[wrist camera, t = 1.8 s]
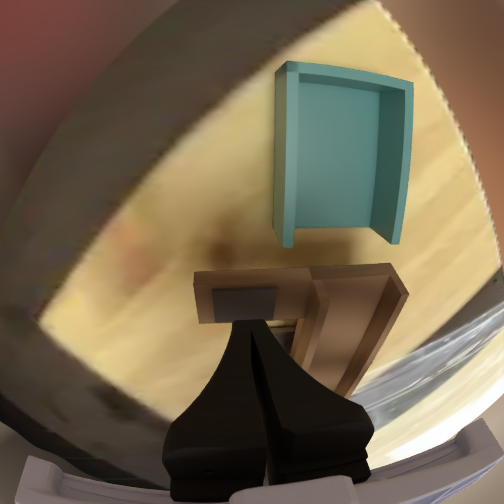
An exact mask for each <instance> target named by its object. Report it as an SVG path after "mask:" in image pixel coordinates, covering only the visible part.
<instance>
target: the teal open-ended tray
mask: <svg viewBox="0 0 504 504" xmlns="http://www.w3.org/2000/svg"><path fill="white" fill-rule="evenodd" d="M413 97H414V87H413V82H410V81H406V80H402V79H398V78H394V77H390V76H385V75H381V74H376V73H371V72H366V71H361V70H355V69H349V68H343V67H337V66H330V65H322V64H314V63H304V62H293V61H286V62H285V63H284V64H283V65H282V66H281V67H280V68H279V69H278V70H277V71H276V72H275V144H274V196H273V229H274V231H275V233H276V235H277V237H278V239H279V241H280V243H281V246H282V248H293V243H294V228H331V227H370V228H371V229H373V230H374V231H375V232H376V233H378V234H379V235H380V236H381V237H383V238H384V239H385V240H386V241H387V242H389V243H390V244H391V245H392V244H399V241H400V236H401V230H402V224H403V218H404V211H405V204H406V197H407V189H408V180H409V171H410V160H411V148H412V131H413Z"/></svg>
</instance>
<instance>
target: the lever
mask: <svg viewBox="0 0 504 504" xmlns="http://www.w3.org/2000/svg"><path fill="white" fill-rule="evenodd" d="M193 286H194V293H195V300H196V306H197V313H198V319H199V324H206V323H232V322H233V321H235V320H251V319H264V320H265V321H272V320H287V319H298V321H297V326H296V330H295V335H294V339H293V344H292V348H291V353H290V356H291V357H292V358H293V359H294V360H295V362H296V363H297V364H298V365H299V366H301V367H302V368H303V369H304V370H305V371H306V372H307V373H308V374H309V375H311V376H312V377H313V378H314V379H316V380H317V381H318V382H320V383H321V384H323V385H324V386H325V387H327V388H328V389H330V390H331V391H333V392H335V393H337V394H338V395H340V396H342V397H344V398H346V399H348V398H349V397H350V396H351V394H352V393H353V391H354V390H355V388H356V387H357V385H358V384H359V382H360V380H361V379H362V377H363V376H364V374H365V373H366V371H367V370H368V368H369V366H370V365H371V363H372V361H373V360H374V358H375V356H376V355H377V353H378V351H379V350H380V348H381V346H382V345H383V343H384V341H385V339H386V338H387V336H388V334H389V332H390V330H391V329H392V327H393V325H394V323H395V321H396V319H397V317H398V315H399V314H400V312H401V310H402V308H403V306H404V304H405V302H406V300H407V298H408V296H409V293H408V291H407V289H406V288H405V286H404V284H403V283H402V281H401V279H400V278H399V276H398V274H397V273H396V271H395V270H394V268H393V266H392V265H391V263H379V264H362V265H343V266H323V267H303V268H280V269H256V270H229V271H200V272H194V283H193Z"/></svg>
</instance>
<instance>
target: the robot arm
mask: <svg viewBox="0 0 504 504" xmlns="http://www.w3.org/2000/svg"><path fill="white" fill-rule="evenodd" d="M374 431H375V430H374V426H373V424H372V421H371V419H370V417H369V416H368V414H367V413H366V411H365V409H364V408H363V406H361V405H359V404H357V403H355V402H352V401H350V400H348V399H346V398H344V397H342V396H340V395H338V394H337V393H335V392H333V391H331V390H330V389H328V388H327V387H325V386H324V385H323V384H321V383H320V382H318V381H317V380H316V379H314V378H313V377H312V376H311V375H309V374H308V373H307V372H306V371H305V370H304V369H303V368H302V367H301V366H299V365H298V364H297V363H296V362H295V360H294V359H293V358H292V357H291V356H290V355H289V354H288V353H287V352H286V350H285V349H284V348H283V347H282V345H281V344H280V343H279V342H278V340H277V339H276V337H275V336H274V335H273V333H272V332H271V330H270V328H269V327H268V325H267V323H266V321H265V320H264V319H251V320H235V321H233V322H232V331H231V335H230V338H229V342H228V344H227V347H226V350H225V352H224V355H223V357H222V359H221V361H220V363H219V365H218V367H217V369H216V371H215V373H214V374H213V376H212V377H211V379H210V381H209V382H208V384H207V385H206V386H205V388H204V389H203V391H202V392H201V393H200V395H199V396H198V397H197V398H196V399H195V400H194V402H193V403H192V404H191V405H190V406H189V407H188V408H187V409H186V410H185V411H184V412H183V413H182V414H181V415H180V416H179V417H178V418H177V419H176V420H175V421H173V422H172V423H171V425H170V428H169V430H168V433H167V435H166V438H165V442H164V446H163V454H162V462H163V465H164V467H165V469H166V470H167V472H168V474H169V476H170V477H171V485H170V491H160V490H150V489H141V488H134V487H127V486H120V485H115V484H109V483H104V482H99V481H94V480H90V479H85V478H81V477H77V476H73V475H69V474H65V473H63V472H62V471H61V469H60V468H58V467H57V466H56V465H55V464H53V463H51V462H48V461H45V460H42V459H39V458H36V457H33V456H28V459H27V462H26V465H25V468H24V471H23V474H22V477H21V480H20V483H19V487H18V490H17V494H16V497H15V503H16V504H439V503H441V502H442V501H444V500H446V499H448V498H450V497H451V496H453V495H455V494H457V493H458V492H460V491H462V490H463V489H465V488H467V487H468V486H470V485H472V484H473V483H475V482H476V481H478V480H479V479H480V478H481V477H482V476H483V475H485V474H486V473H487V472H488V471H489V470H490V469H491V468H492V467H494V466H495V465H496V464H497V463H498V462H499V461H500V460H501V459H502V458H503V457H504V451H503V450H502V448H501V447H500V445H499V443H498V442H497V440H496V438H495V437H494V435H493V434H492V432H491V431H490V429H489V428H488V426H487V425H486V423H485V421H484V420H483V418H480V419H479V420H477V421H475V422H473V423H471V424H469V425H467V426H465V427H464V428H463V429H461V430H460V431H459V432H458V434H457V435H456V437H455V438H454V439H452V440H450V441H447V442H445V443H443V444H441V445H438V446H436V447H434V448H432V449H429V450H427V451H424V452H422V453H419V454H417V455H414V456H411V457H409V458H406V459H403V460H400V461H398V462H395V463H392V464H389V465H386V466H382V467H379V468H376V469H373V470H370V469H369V466H368V463H367V461H366V459H367V458H368V454H367V452H366V449H365V448H366V446H367V444H368V443H369V441H370V439H371V438H372V436H373V434H374ZM266 463H267V472H268V481H269V486H263V480H264V477H265V469H266Z"/></svg>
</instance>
